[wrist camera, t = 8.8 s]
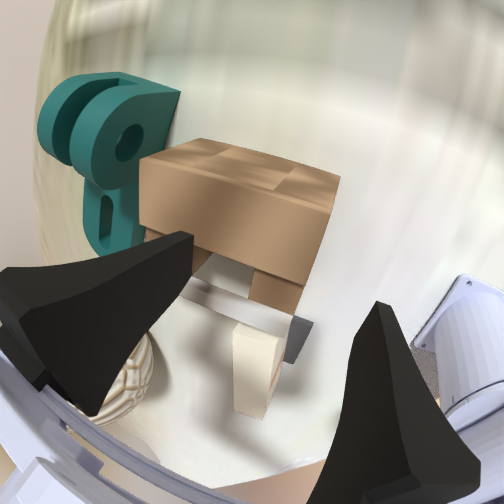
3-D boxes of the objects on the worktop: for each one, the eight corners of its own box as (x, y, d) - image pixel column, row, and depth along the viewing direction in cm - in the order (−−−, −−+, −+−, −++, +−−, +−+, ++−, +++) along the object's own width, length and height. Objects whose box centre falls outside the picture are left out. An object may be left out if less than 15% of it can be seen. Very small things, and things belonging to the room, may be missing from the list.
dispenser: (340, 176, 17) (330, 216, 12) (307, 274, 22) (284, 338, 16) (200, 138, 19) (137, 160, 14) (191, 232, 24) (140, 277, 18)
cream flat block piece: (295, 294, 22) (276, 345, 18) (279, 378, 29) (262, 420, 24) (259, 285, 23) (232, 332, 19) (252, 370, 29) (233, 410, 25)
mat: (313, 322, 24) (312, 326, 23) (294, 360, 27) (293, 364, 27) (259, 302, 25) (257, 306, 24) (248, 343, 28) (246, 346, 28)
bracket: (121, 71, 18) (42, 80, 12) (182, 91, 18) (100, 99, 12) (96, 234, 29) (45, 270, 23) (140, 265, 28) (89, 310, 22)
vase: (145, 372, 42) (78, 462, 26) (76, 302, 39) (-4, 382, 23) (193, 350, 32) (101, 486, 16) (99, 254, 30) (-26, 364, 14)
